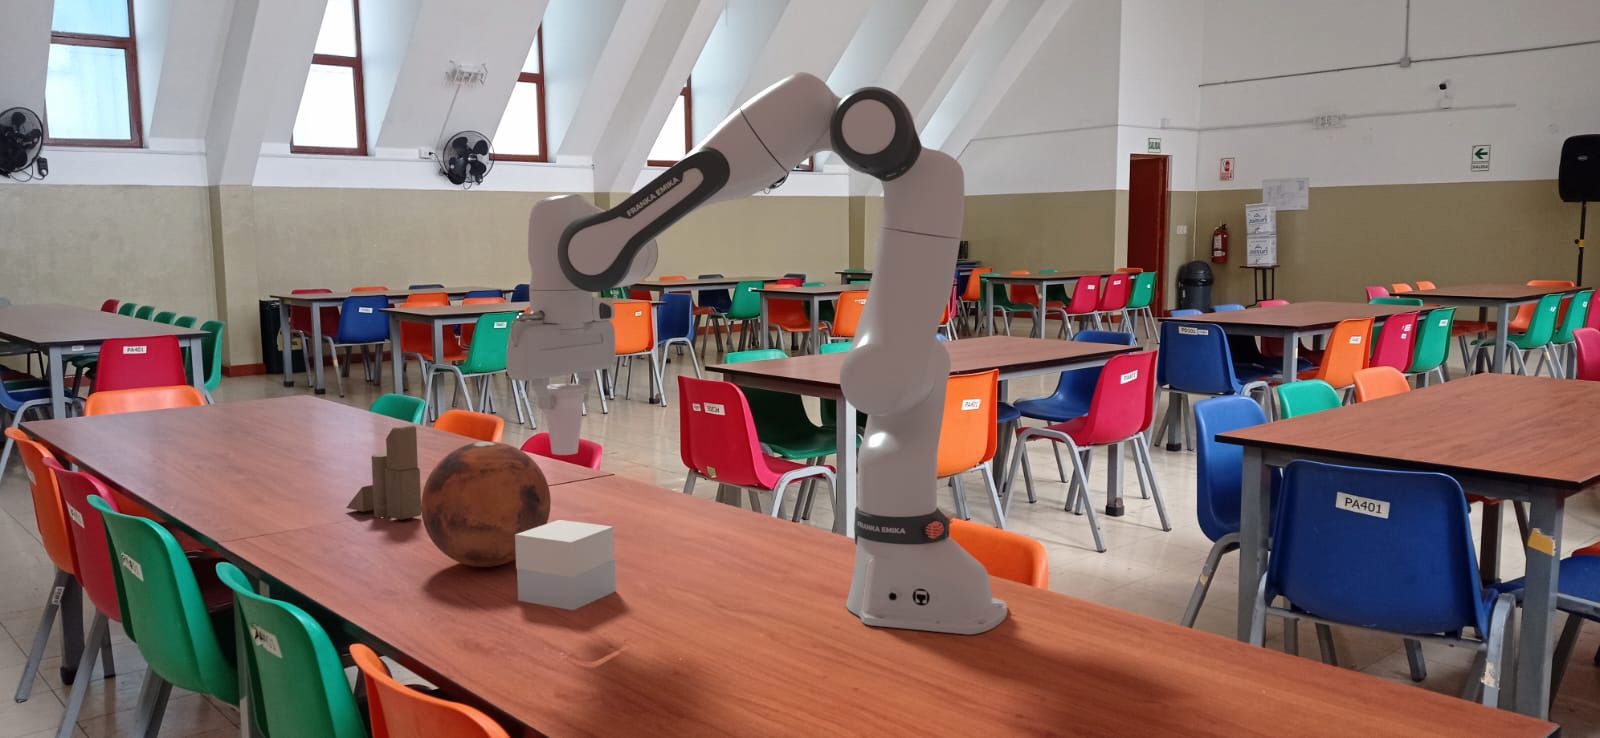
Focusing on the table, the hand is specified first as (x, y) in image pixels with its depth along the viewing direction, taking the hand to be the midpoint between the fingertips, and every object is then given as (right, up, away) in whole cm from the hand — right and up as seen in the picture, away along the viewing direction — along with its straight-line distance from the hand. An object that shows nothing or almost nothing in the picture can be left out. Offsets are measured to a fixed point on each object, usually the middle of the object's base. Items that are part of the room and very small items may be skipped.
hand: (564, 405), depth 164 cm
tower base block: (0, -28, +3) cm, 28 cm away
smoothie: (0, -7, +1) cm, 7 cm away
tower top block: (0, -23, +2) cm, 23 cm away
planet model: (-16, -27, +19) cm, 37 cm away
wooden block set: (-45, -23, +53) cm, 73 cm away
